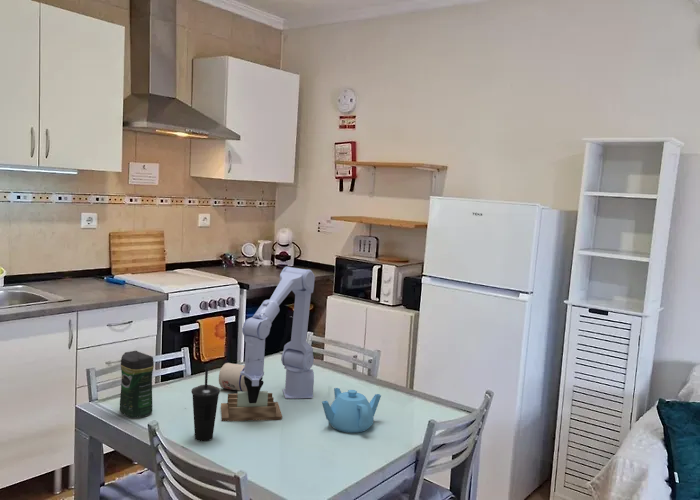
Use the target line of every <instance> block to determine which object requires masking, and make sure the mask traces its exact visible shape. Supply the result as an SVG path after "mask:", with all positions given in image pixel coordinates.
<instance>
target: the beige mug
mask: <svg viewBox="0 0 700 500" xmlns="http://www.w3.org/2000/svg"><path fill="white" fill-rule="evenodd" d="M244 369H245V364H244V365H243V364H237V363H231V362H225V363H224V364H223V365H222V366H221V368H220V370H219V374H218V385H219V386H220V388H222V389H227V390H231V391H237V392H242V391H247V387H246V385H245V382H244V375H240V372H241V371H244Z"/></svg>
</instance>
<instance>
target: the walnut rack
mask: <svg viewBox="0 0 700 500" xmlns="http://www.w3.org/2000/svg"><path fill="white" fill-rule="evenodd" d="M274 399H275V398H274V397H273V393H272V392H268V402H267V407H237V393H228V394H227V402H222V403H221V404H220V412H221V413H220V417H221V422H242V421H243V422H246V421H247V422H249V421H248V420H253V421H281V420H282V421H283V414H282V410H281V408H280V405H279V402H278V401H275V400H274ZM245 420H246V421H245Z"/></svg>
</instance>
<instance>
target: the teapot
mask: <svg viewBox="0 0 700 500" xmlns="http://www.w3.org/2000/svg"><path fill="white" fill-rule="evenodd" d="M333 391H334V400H333V401H332V403H331V404H330V403H329V401H328V400H324V401H321V403H322V404H321V405H322V408H323V413H324V415H325V418H326V420H327V421H328V423H329V424H330V426H332V427H331V428H333V429H335V430H337V431H340V432H343V433H350V434H354V433H355V434H356V433H362V432H365V431H367V430H368V429H369V428H370V427H371V426H372V425H373V424H374V420H375V419H374V417H375V414H376V411H377V410H378V406H379V402H380V400H381V397H382V395H381V394H380V393H377V394H376V393H375V394H374V395H373V397H372V399H371V400H370V402H369V399H368V398H367V397H366V395H365V394H362V393H360V392H358V390H355V389H349V390H348V389H347V391H343V392H342V391H341V388H338V387H334V388H333Z"/></svg>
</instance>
